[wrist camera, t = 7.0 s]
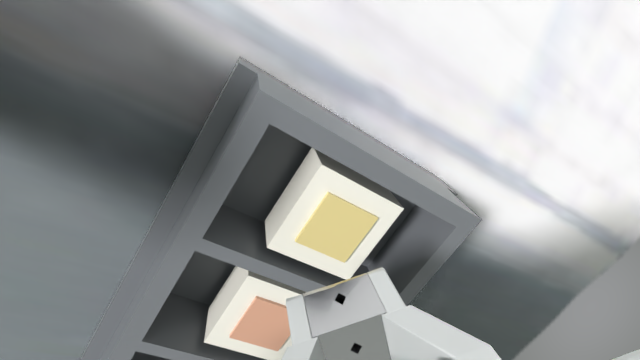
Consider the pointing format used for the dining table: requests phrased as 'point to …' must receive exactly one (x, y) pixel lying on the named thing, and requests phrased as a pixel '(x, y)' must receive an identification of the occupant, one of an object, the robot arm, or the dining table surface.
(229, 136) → the grey compartment tray
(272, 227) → the key
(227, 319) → the key
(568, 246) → the dining table surface
